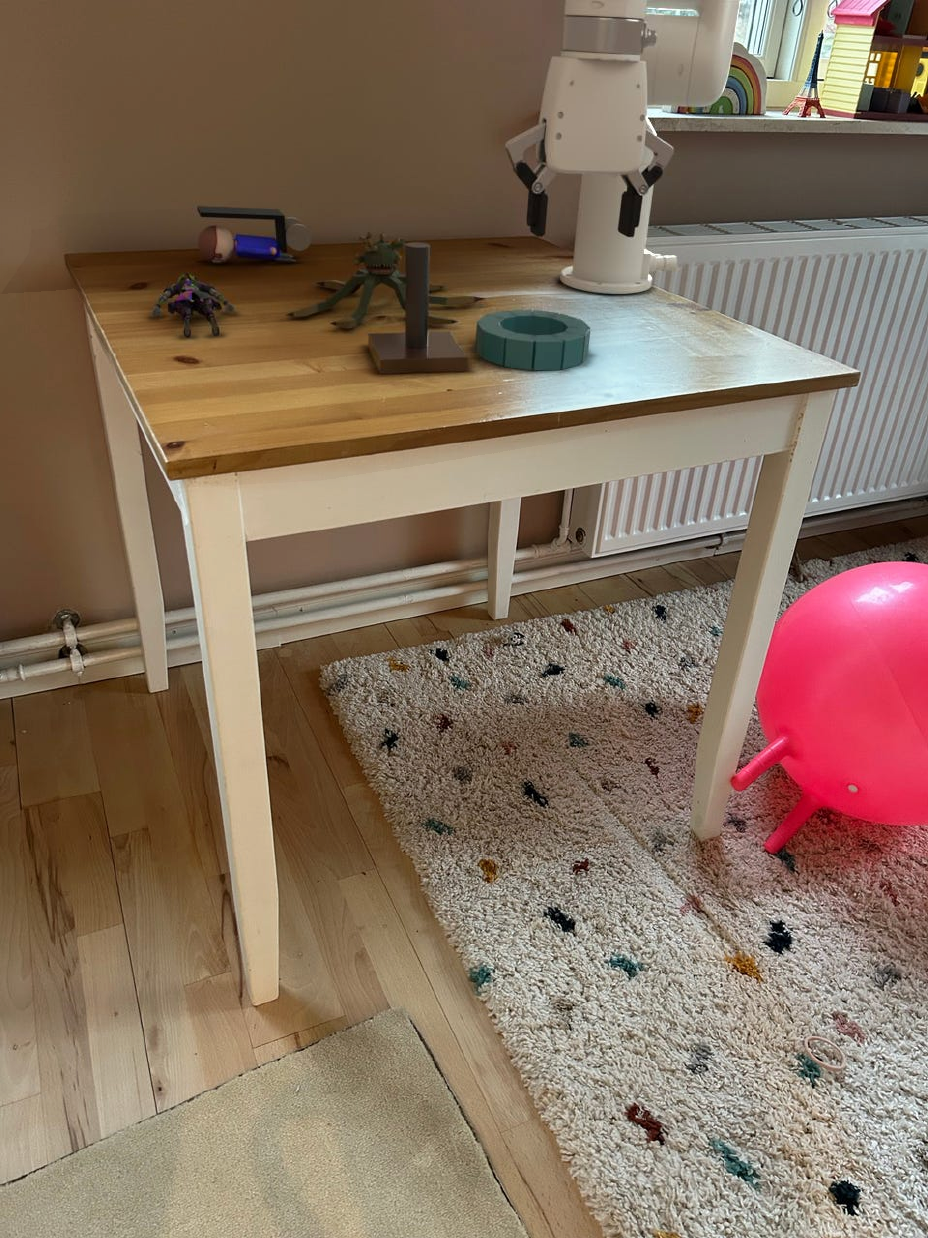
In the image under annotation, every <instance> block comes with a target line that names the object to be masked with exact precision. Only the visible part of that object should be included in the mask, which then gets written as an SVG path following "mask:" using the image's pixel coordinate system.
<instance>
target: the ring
mask: <svg viewBox="0 0 928 1238" xmlns="http://www.w3.org/2000/svg"><path fill="white" fill-rule="evenodd" d="M590 337H591V327H590V326H589V325H588V323H586V322H585V321H584V320H582V319H580V318H577V317H574V316H571V315H568V314H564V313H559V312H554V311H546V310H539V309H533V310H532V309H506V310H500V311H495V312H490V313H486V314H483V316H482V317H480V318H479V319H478V320H477V321H476V331H475V351H476V352H477V354H478V355H479V356H480V358H481V359H483V360H485V361H488V362H490V363H493V364H496V365H498V366H501V367H505V368H511V369H519V370H526V371H532V370H533V371H557V370H558V371H559V370H565V369H568V368H572V367H576V366H578V365H582V364H583V363H584V362H585V360H586V359H587V358H588V356H589V348H590Z"/></svg>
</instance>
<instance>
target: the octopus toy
mask: <svg viewBox="0 0 928 1238" xmlns="http://www.w3.org/2000/svg"><path fill="white" fill-rule="evenodd" d="M378 235H379V236H378V237H379V241H376V242H374V239H373V238H372V236H373V231H367V235H366V236H364V235H360V236H359V237H358V240H359V241H360V242H363V243H364V244H366V245H365V247H364V251H363V255H361V254H360V253H357V252H356V253H355V255H353V257H352V258H353V265H354V266H357V267H360V265H361V264H362V263H364V267H365V268H364V269H357V271H356V273H355V274H352V275H351V277H350V278H349V279H348V280H347V281H345V282H344V281H342V280H341V281H340V280H337V279H331V280H324V281H319V282H315V285H318V286H320V287H324V288H327V289H333V290H336V291H335V292H334V293H333V294H332V295H330V296H329V297H328V298H327V299H326V300H324V301H321V302H317V303H312V304H310V305H307V306H304V307H302V308H298V309H297V310H294V311H291V312H289V313H286V314H285V316H288V317H291V318H294V317H295V318H301V317H308V316H310V315H312V314H316V313H319V312H324V311H328V310H331V309H332V308H334V307H335V306H336V305H337V304H339V302H341V301H342V300H344V298H345V297H347V296H348V295H353V294H354V293H356V292H358V291H359V290H360V289H361V287H362V286H363V288H362V292H361V297H360V300H359V306H358V308H357V309H356V310H355V311H354V312H353V313H351V315H349V316H348V317H345V318H341V319H338V320H335V321H332V322H330V323H329V324H330V325H332V326H335V327H338V328H344V329H348V330H349V329H353V328H354V327H357V326H358V325H359V324H360V323H361V322H362V321H363V320H364V319H365V317H366V316H367V314H368V312H369V308H370V304H371V300H372V296H373V292H374V291H375V289H376V288H377V286H379V285H381V284H382V285H384V286H388V287H389V288H390V289H392V290H394V292H395V295H396V297H397V300H398V302H399V305H400V307H401V308H402V309H403V310H404V311H405V291H406V274H402V273H401V272H400V270H399V269H397V268H398V265H400V263H401V261H402V259H403V256H401V252H400V251H397V249H403V250H406V244H407V243H406V240H405V239H406V238H400V237H396V238H395V239H394V240H393V241H387V242H386V234H385V233H383V232H381V233H380V234H378ZM443 288H445V285H441V284H436V283H431V282H429V292H430V291H438V290H441V289H443ZM484 300H487V297H486V298H485V297H480V296H474V295H473V296H472V295H463V296H462V295H461V296H448V297H447V296H441V295H433V294H431V293H429V305H430V304H431V305H432V304H433V305H440V306H441V305H442V306H457V305H469V304H472V303H476V302H479V301H484ZM456 323H459V321H458V320H456V319H453V318H451V317H447V316H443V315H439V314H435V313H431V312H429V317H428V325H432V326H444V325H451V324H452V325H453V324H456Z"/></svg>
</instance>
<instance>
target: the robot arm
mask: <svg viewBox="0 0 928 1238" xmlns="http://www.w3.org/2000/svg"><path fill="white" fill-rule="evenodd" d="M740 6H741V0H565V1H564V13H563V15H564V16H563V23H562V24H563V25H562V36H561V48H560V49H561V50H560V56H559V55H558V56H557V55H556V56H555V55H552V56H551V59H550V62H549V66H548V70H547V74H546V79H545V83H544V89H543V93H542V101H541V106H540V113H539V119H538V124H536V125H534V126H533V127H531V128H529V129H527V130H526V131H524V132H523V131H522V133H520V134H518V135H517V136H515V137H512V138H510V139H509V140H507V141H506V142H505V144H504V148H505V151H506V154H507V156H508V158H509V162H510V164H511V166H512V170H513V172H514V174H515V175H516V176H517V177H518V179H519V180H520V181H521V182H522V183H523V185H524V187H525V189H526V190H528V193H527V194H528V195H527V208H526V225H527V226H528V227H529V231H530V233H532V235H534V236H535V237H540V238H541V237H544V236H545V235H546V229H547V227H546V226H547V218H548V217H547V216H548V203H549V195H548V194H547V193H545V192H546V188H547V186H548V185H549V184H550V183H551V182H552V181H553V179H554V178H555V177H556V176H557V175H558V174H564V175H565V174H566V175H581V179H580V189H579V200H578V210H577V217H576V218H577V221H576V230H575V240H574V250H573V260H572V265H571V266H567V267H564V268H563V269H561V271H560V277H559V279H560V282H561V283H563V284H564V285H565V286H567V287H570V288H572V289H577V290H581V291H585V292H590V293H598V294H608V295H609V294H610V295H628V294H638V293H642V292H646V291H647V290H649V289H651V287H652V285H653V277H652V276H651V275H650V274H654V273H655V271H662V272H666V271H667V272H675V271H676V270H677V266H678V258H677V256H676V255H661V254H660V253H652V252H651V251H649V250H647V249H646V244H647V237H648V230H649V221H650V215H651V207H652V201H653V193H654V186H655V184H656V182H658V180H659V179H661V178H662V176H663V174H664V170H665V169H666V167H667V166H668V164H669V162H670V161H671V159H672V157H673V156H674V153H675V149H674V147H673V146H672V145H670V144H669V143H668V142H667V141H665V140H663V139H662V138H661V137H659V136H658V135H657V133H656V130H655V129H654V127H653V124H652V123H651V122H650V120H649V119H648V106H654V105H655V106H669V107H670V106H671V107H683V108H684V107H686V108H687V107H688V108H704V107H710V106H712V105H713V104H715V103H716V102H717V101H718V100H719V99H720V98H721V96H722V95H723V93H724V90H725V88H726V84H727V82H728V77H729V73H730V69H731V68H730V67H731V62H732V57H733V50H734V43H735V37H736V30H737V24H738V19H739V11H740ZM647 9H648V10H667V11H668V10H669V11H686V12H687V11H688V12H694V13H696V14H697V15H681V14H680V15H678V14H666V13H651V12H647ZM533 146H535V160H536V162H537V164H538V165H536V167H535V168H534V169H533V170H532V169H531V167H530V166H529V164H527V161H526V157H525V151H526V150H527V149H529V148H530V147H533Z"/></svg>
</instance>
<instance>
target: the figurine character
mask: <svg viewBox="0 0 928 1238" xmlns="http://www.w3.org/2000/svg"><path fill="white" fill-rule="evenodd" d="M196 206H197V210H196V211H197V213H198V214H199V216H200V218H214V219H241V220H265V221H266V220H267V221H274V228H275V229H274V230H275V237H271V236H262V235H261V236H260V235H251V234H242V233H241V234H240V233H236V234H235V237H234V238H233V235H232V233H231V232H230V231H229V230H228V229H227V228H225V227H223V226H221V225H216V224H215V225H214V224H213V225H209V226H207V227H205V228H204V229H203V230H202V231H201V232H200V234H199V236H198V240H197V245H198V250H199V252H200V254H201V255H202V257H203V258H204V260H205V259H206V261H208V262H210V263H212V264H223V263H226V262H228V261H229V260H230V259H231V258H232V257H233V255H234V253H235V257H236V258H242V259H254V260H266V261H275V262H279V263H290V264H294V263H296V262H297V260H295V259H294V256H293V255H292V254H290V253H288V247H289V248H290V249H291V250H294V251H297V252H300V251H304V250H306V249H308V248H309V247H310V245H311V243H312V238H313V237H312V233H311V231H310V230H309V229H308V228H307V227H306V226H305V225H304V224H303V222H301V221H300V220H299V219H298V218H296V217H293V216H287V217H286V215H285V214H284V213H283V212H282V211H281V210H280V209H278V208H257V207H256V208H255V207H232V206H230V207H229V206H207V205H196Z"/></svg>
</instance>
